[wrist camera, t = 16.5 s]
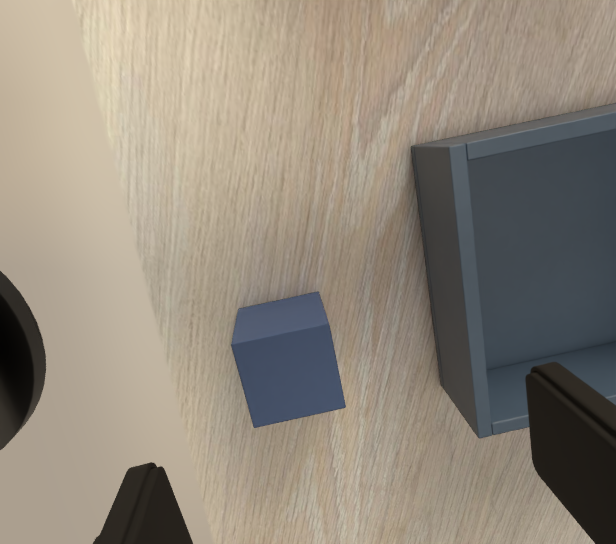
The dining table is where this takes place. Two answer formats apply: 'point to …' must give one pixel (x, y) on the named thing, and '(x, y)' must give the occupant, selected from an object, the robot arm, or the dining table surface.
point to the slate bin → (521, 259)
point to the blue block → (287, 360)
